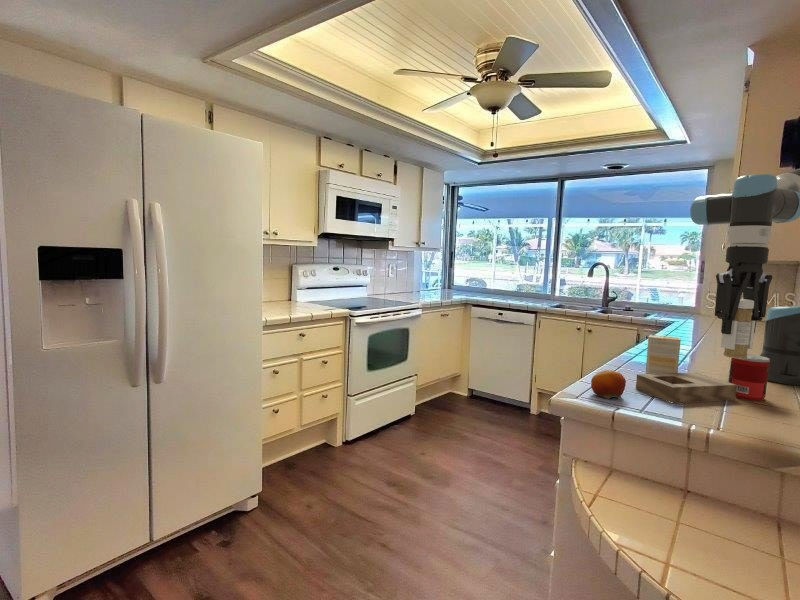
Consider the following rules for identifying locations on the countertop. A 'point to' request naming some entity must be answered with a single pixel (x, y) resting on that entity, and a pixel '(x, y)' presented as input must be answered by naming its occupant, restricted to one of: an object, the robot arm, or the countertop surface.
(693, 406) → the countertop surface
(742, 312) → the sprinkles bottle
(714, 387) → the caddy
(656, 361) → the supplement box
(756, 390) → the canned food
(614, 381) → the fruit
